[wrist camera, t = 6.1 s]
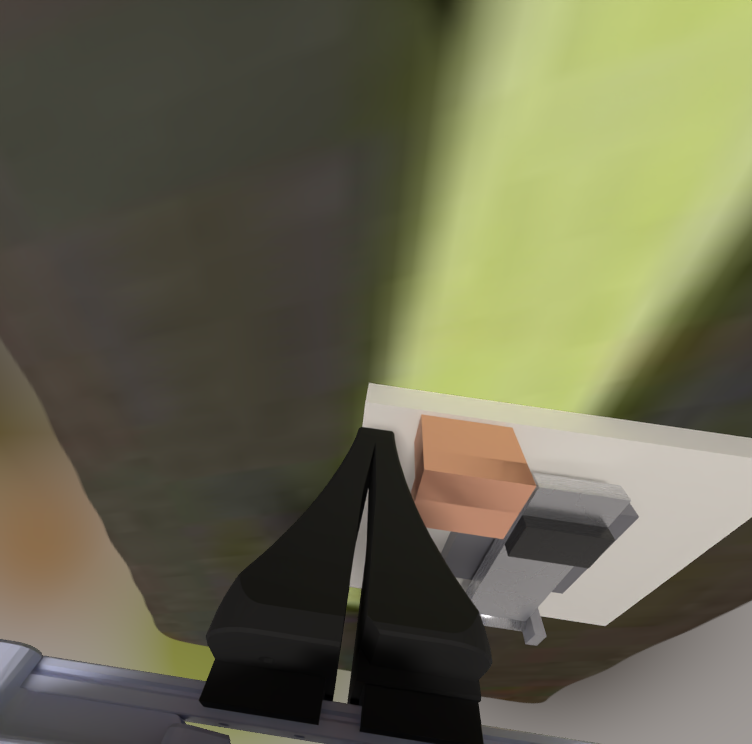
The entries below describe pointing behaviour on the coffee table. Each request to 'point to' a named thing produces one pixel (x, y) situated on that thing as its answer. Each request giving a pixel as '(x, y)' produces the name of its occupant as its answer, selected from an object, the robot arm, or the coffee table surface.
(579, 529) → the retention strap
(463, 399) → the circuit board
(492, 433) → the block
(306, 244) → the coffee table surface
